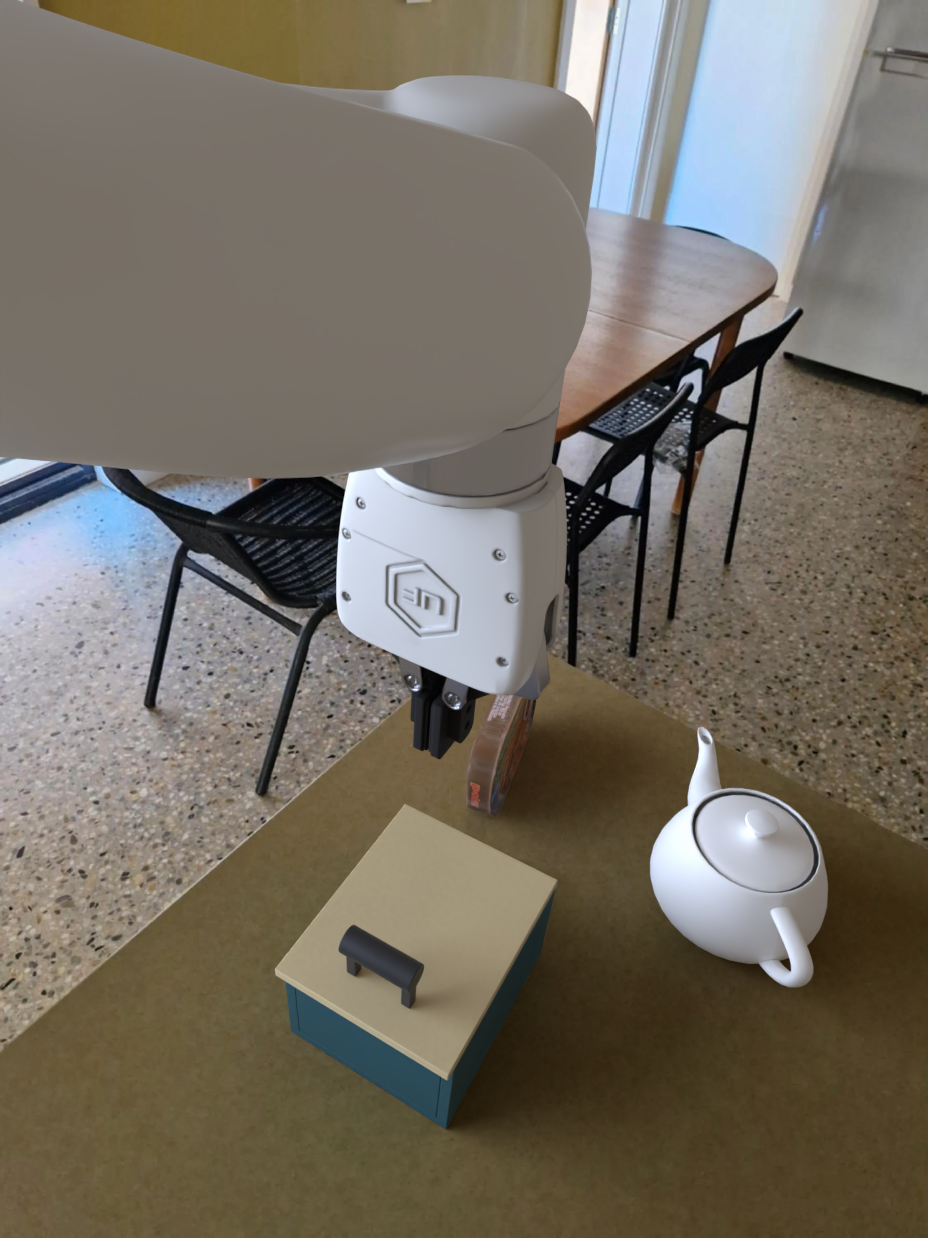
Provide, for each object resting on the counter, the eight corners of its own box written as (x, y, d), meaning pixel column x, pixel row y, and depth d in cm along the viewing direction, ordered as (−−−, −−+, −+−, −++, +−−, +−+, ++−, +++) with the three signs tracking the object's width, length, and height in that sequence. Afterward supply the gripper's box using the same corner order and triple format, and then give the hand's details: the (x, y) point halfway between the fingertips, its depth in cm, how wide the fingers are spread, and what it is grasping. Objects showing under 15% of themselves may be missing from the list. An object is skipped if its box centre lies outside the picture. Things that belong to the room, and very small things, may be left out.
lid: (447, 1081, 52) (452, 1041, 49) (275, 975, 56) (269, 932, 53) (556, 886, 63) (566, 843, 59) (404, 810, 67) (406, 766, 64)
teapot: (863, 1015, 66) (920, 936, 59) (689, 1036, 64) (727, 956, 57) (748, 785, 83) (782, 703, 76) (607, 795, 81) (629, 712, 74)
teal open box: (446, 1130, 58) (454, 1069, 52) (290, 1031, 62) (283, 965, 57) (541, 953, 68) (556, 887, 63) (401, 879, 72) (404, 810, 67)
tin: (490, 836, 76) (499, 771, 71) (455, 825, 77) (462, 760, 72) (536, 719, 87) (547, 656, 82) (505, 711, 88) (514, 647, 83)
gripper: (260, 414, 36) (286, 725, 48) (596, 531, 31) (534, 847, 43) (363, 355, 42) (364, 649, 53) (666, 447, 37) (594, 749, 48)
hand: (440, 737), depth 48 cm, fingers closed
